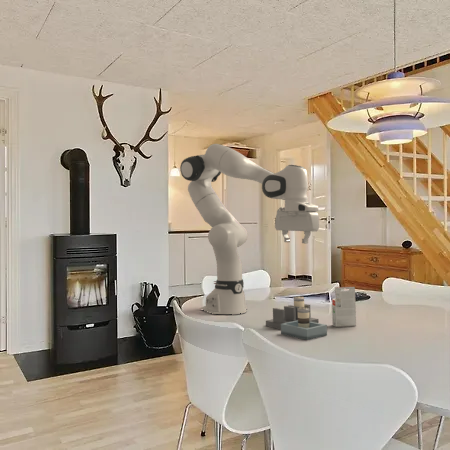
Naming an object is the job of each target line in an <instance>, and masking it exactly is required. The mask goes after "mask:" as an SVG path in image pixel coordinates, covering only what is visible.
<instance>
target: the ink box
mask: <svg viewBox="0 0 450 450" xmlns="http://www.w3.org/2000/svg"><path fill="white" fill-rule="evenodd" d="M334 289H335V292H334V293H335V298H331V302H332V303H331V304H332V305H331V308H332V311H331V313H332V317H331V318H332V320H331V321H332V326H333V327H336V328H343V327H344V328H345V327H356V326H357V311H356V309H357V308H356V307H357V305H356V287H355V286H342V287H341V286H336V287H334ZM345 289H346V290H345Z"/></svg>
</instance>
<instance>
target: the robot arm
mask: <svg viewBox="0 0 450 450" xmlns="http://www.w3.org/2000/svg"><path fill="white" fill-rule="evenodd" d="M179 170H180V175H181V176H182V177H183V179H185V180H187V181H189V184H188V186H187V191H188V194H189V196H190V199H191V201H192V203H193V204H194V206H195V207H196V209H197V211H198V212H199V214H200V216H201V218H202V219H203V221H204V222H205V223H207V224H208V225H209V226H210V227H211V228H210V230H209V231H208V236H207V237H208V242H209V244H210V245H211V246H212V250H213V252H214V256H215V262H216V278H217V279H216V280H214V281H213V284H214V289H213V290H212V291H211V292H210V293H209V294H208V295H207V296H206V297H205V305H204V306H201V307H200V309H203V310H205V311H208V312H211V313H213V314H232V315H241V314H244V313H247V312H246V311H248V306H247V304H246V296H245V295H246V294H245V291H244V290H243V289H244V278H243V262H242V259H241V258H240V255H239V252H238V248H239V247H240V246H243V245H244V244H245V243H246V242H247V240H248V236H249V234H248V231H247V229H246V227H244V225H242V224H241V223H240V222H239V221H238V220H237V219H236V217H234V215H233V214H232V213H231V212H230V211H229V210H228V209H227V207H226V206H225V205H224V203H223V202H222V200H221V198H220V197H219V195H218V194H217V192H216V191H215V189H214V188H213V185H212V183H214V182H216V181H217V180H218V178H219V176H220V175H221V174H223V175H224V176H225V175H226V176H227V177H230V178H234V179H239V180H240V179H241V180H250V181H254V182H257V183H258V184H261V189H262V193H263V195H264V196H265V197H267V198H270V199H273V200H274V199H275V200H283V201H284V207H282V206H281V207H278V209H277V210H276V215H275V220H274V229H275V230H276V231H281V234H282V236H283V242H284V243H291V238H290V237H289V235H288V234H289V231H291V232H303V234H304V237H303V238H301V243H302V244H308V243H309V238H310V236H311V233H312V232H314V233H315V232H318V231H319V229H320V216H319V213H318V212H319V205H317V204H314V203H311V202H308V201H309V198H308V189H309V183H308V182H309V178H308V171H307V169H306V168H305V167H304V166H301V165H297V164H288V165H286V166H285V167H284V168H283V169H282V170H279V171H278V172H274V171H273V172H272V171H271V170H268V169H266V168H264V167H262V166H260V165H259V164H257V163H255V162H254V161H253V160H251V159H249V158H248V157H247V156H246V155H243V154H242V153H241V152H239V151H238V150H235V149H234V148H232V147H230V146H227V145H224V144H220V143H213V144H210V145H209V146H208V147H207V148H206V150H205V153H204V154H197V155H192V156H188V157H186V158H184V159H183V160H182V161H181V163H180V168H179ZM246 309H247V310H246ZM205 311H204V312H205ZM208 312H207V313H208ZM240 313H241V314H240ZM213 314H212V315H213Z"/></svg>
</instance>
